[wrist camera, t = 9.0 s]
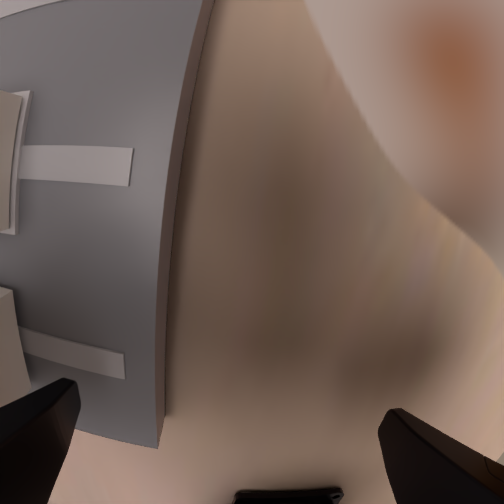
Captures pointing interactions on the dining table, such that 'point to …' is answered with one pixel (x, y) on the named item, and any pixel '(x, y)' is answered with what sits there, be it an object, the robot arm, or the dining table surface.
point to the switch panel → (97, 195)
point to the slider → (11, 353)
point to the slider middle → (7, 149)
